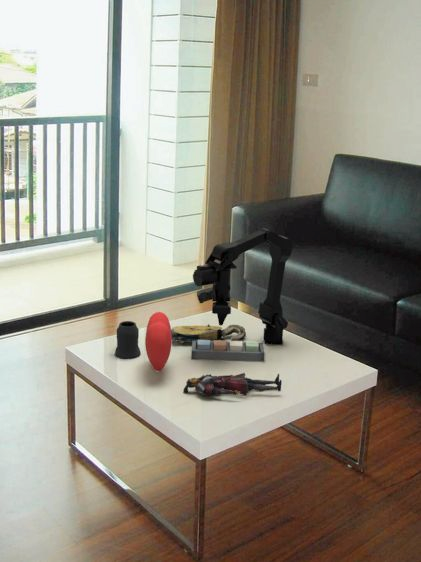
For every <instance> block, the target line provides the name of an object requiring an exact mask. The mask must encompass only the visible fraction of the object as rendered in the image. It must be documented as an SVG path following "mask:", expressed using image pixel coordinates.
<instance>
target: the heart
mask: <svg viewBox="0 0 421 562" xmlns="http://www.w3.org/2000/svg"><path fill="white" fill-rule="evenodd" d="M171 329H172V327H171V323H170V320H169V316H167V315H166V314H165V313H164V312H162V311H161V312H160V311H157V312H155V313H153V314H152V315H151V316H150V317H149V319H148V323H147V326H146V329H145V340H144V341H145V342H144V344H145V352H146V356H147V360H148V362H149V363H150V365H151V367H152V368H153V370H154V371H156V372H157V373H159V372H162V370H163V369H164V367H166V364H167V363H168V360H169V358H170V355H171V351H172V344H173V342H172V341H173V339H172V334H171Z"/></svg>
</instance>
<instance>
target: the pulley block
mask: <svg viewBox="0 0 421 562" xmlns="http://www.w3.org/2000/svg"><path fill="white" fill-rule="evenodd" d="M234 333H235V334H234ZM171 334H172V341H175V342H181V343H182V344H185V343H184V342H193V340H197V341H198V340H210V341H214V340H221V341H222V338H226V337H228V336H230V335H232V334H234V335H233V336H231V337H230V339H229V341H242V340H244V339H245V338H246V337H247V333H246V329H245V328H244V326H242V325H239V324H229V325H227V327H225V328H224V329H223V328H222V327H221V326H220V325H218V326H217V325H210V323H209V324H207V325H177V326H173V327H171Z"/></svg>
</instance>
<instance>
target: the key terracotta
mask: <svg viewBox="0 0 421 562" xmlns="http://www.w3.org/2000/svg"><path fill="white" fill-rule="evenodd" d="M226 341H227V340H222V339H221V340H214V350H215V351H226Z"/></svg>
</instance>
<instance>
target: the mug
mask: <svg viewBox="0 0 421 562" xmlns="http://www.w3.org/2000/svg"><path fill="white" fill-rule="evenodd" d="M139 332H140V331H139V328H138V326H137V323H136V322H134V321H130V320H126V321H125V320H124V321H121V322H119V325H118V326H117V328H116V348H115V351H114V356H115V357H116V358H118V359H121V360H134V359H137V358H140V357H141V354H142V353H141V349H140V346H139V335H140V334H139Z"/></svg>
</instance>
